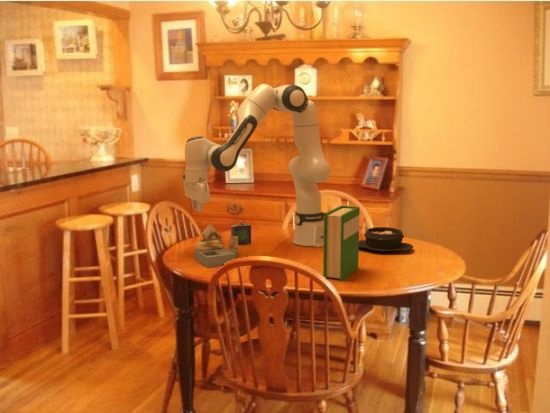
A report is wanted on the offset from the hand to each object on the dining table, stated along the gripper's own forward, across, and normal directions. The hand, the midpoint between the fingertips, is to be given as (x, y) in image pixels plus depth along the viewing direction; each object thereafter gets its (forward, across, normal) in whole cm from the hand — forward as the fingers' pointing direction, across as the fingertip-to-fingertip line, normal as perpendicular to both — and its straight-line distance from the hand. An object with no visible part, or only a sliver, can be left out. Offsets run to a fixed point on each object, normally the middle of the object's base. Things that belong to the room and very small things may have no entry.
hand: (197, 210), depth 237 cm
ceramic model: (+20, +13, -11) cm, 26 cm away
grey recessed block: (+19, -12, -2) cm, 22 cm away
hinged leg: (+15, -6, -2) cm, 17 cm away
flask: (+19, +8, -23) cm, 32 cm away
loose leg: (+19, -8, -12) cm, 24 cm away
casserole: (+20, -30, -74) cm, 82 cm away
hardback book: (+19, -50, -38) cm, 65 cm away
